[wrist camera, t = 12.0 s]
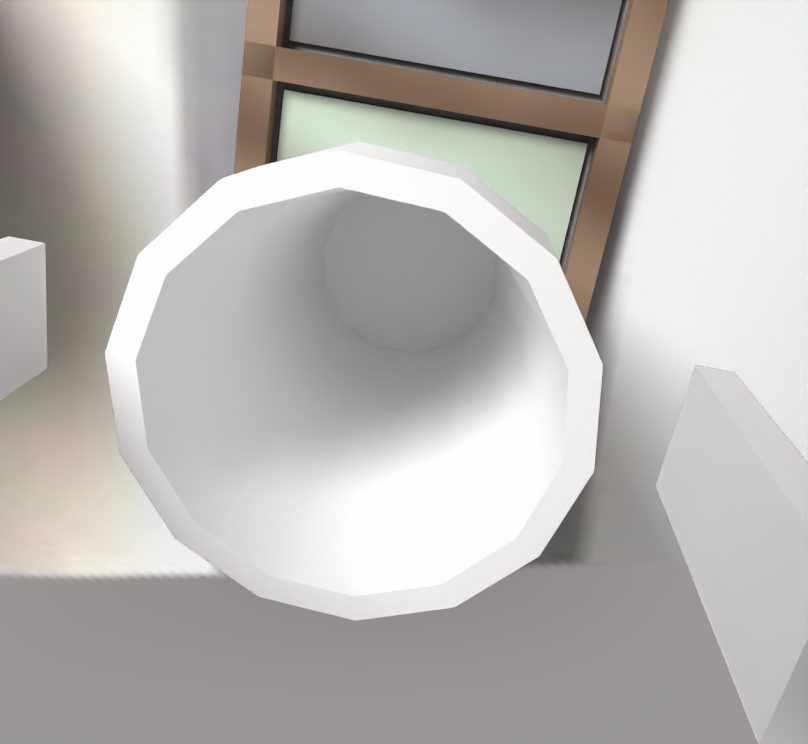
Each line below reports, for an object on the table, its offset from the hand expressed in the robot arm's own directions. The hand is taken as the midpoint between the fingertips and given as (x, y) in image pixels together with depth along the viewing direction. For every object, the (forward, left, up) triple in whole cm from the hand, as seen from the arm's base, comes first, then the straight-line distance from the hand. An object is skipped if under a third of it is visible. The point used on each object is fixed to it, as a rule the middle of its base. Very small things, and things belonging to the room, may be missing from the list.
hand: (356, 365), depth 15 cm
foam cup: (0, 0, -12) cm, 12 cm away
